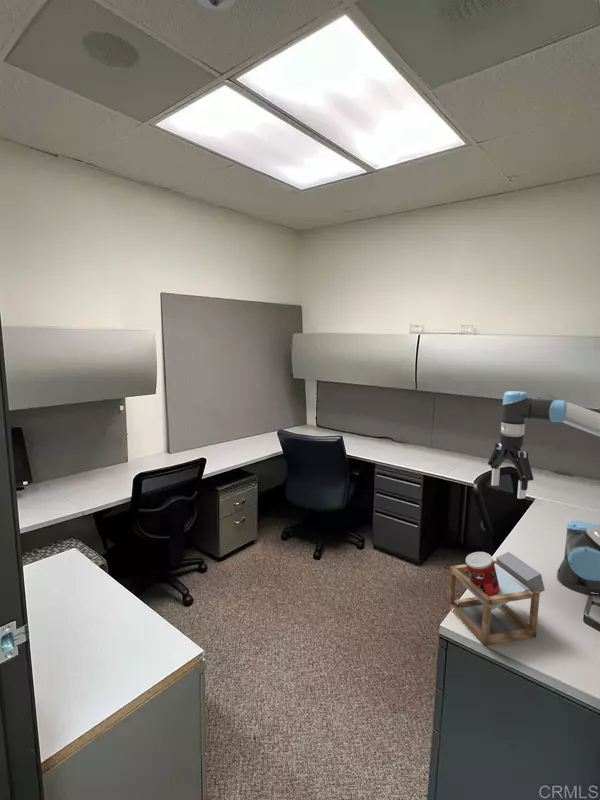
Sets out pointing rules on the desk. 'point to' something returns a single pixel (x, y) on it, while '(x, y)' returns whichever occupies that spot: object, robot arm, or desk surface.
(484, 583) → the canned food
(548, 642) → the desk surface
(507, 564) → the trapdoor
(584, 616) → the desk surface
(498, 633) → the frame
